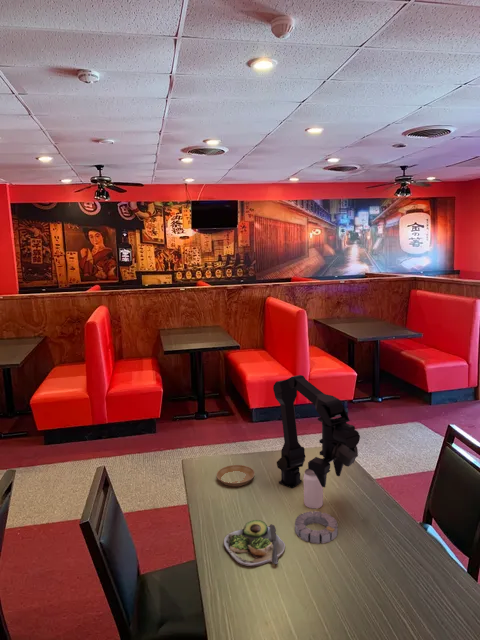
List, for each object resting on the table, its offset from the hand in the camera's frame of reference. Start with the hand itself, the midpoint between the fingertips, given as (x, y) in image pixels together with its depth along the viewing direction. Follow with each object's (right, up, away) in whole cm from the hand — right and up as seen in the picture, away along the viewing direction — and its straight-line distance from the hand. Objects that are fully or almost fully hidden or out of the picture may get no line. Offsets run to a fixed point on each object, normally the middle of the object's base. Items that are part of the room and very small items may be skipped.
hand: (331, 481), depth 154 cm
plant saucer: (-32, -9, +26) cm, 42 cm away
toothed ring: (-6, -12, -9) cm, 16 cm away
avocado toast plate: (-26, -15, -15) cm, 33 cm away
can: (-5, -10, +6) cm, 13 cm away
